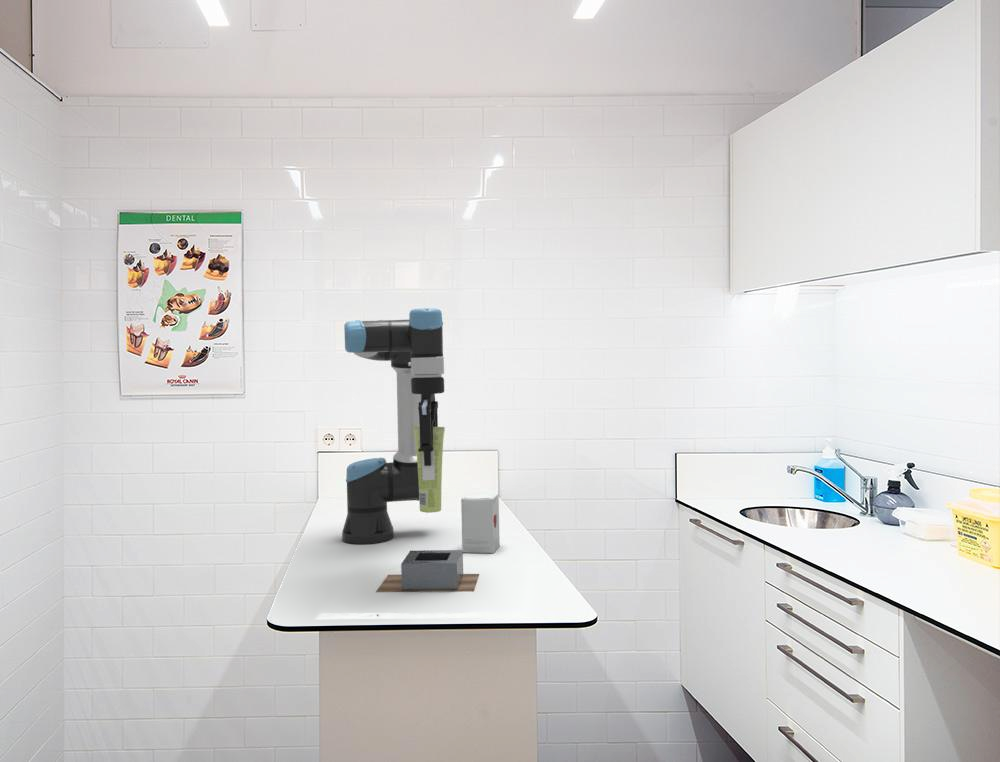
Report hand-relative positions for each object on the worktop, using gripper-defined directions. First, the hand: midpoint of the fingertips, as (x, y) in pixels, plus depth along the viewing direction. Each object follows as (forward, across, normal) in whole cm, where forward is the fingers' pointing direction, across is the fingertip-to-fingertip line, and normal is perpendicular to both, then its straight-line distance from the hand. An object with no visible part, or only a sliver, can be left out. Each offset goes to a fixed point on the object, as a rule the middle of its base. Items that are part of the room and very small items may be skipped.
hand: (430, 477), depth 182 cm
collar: (+24, 0, 0) cm, 24 cm away
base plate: (+25, 0, -1) cm, 25 cm away
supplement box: (+26, -36, +8) cm, 45 cm away
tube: (+8, 0, 0) cm, 8 cm away
